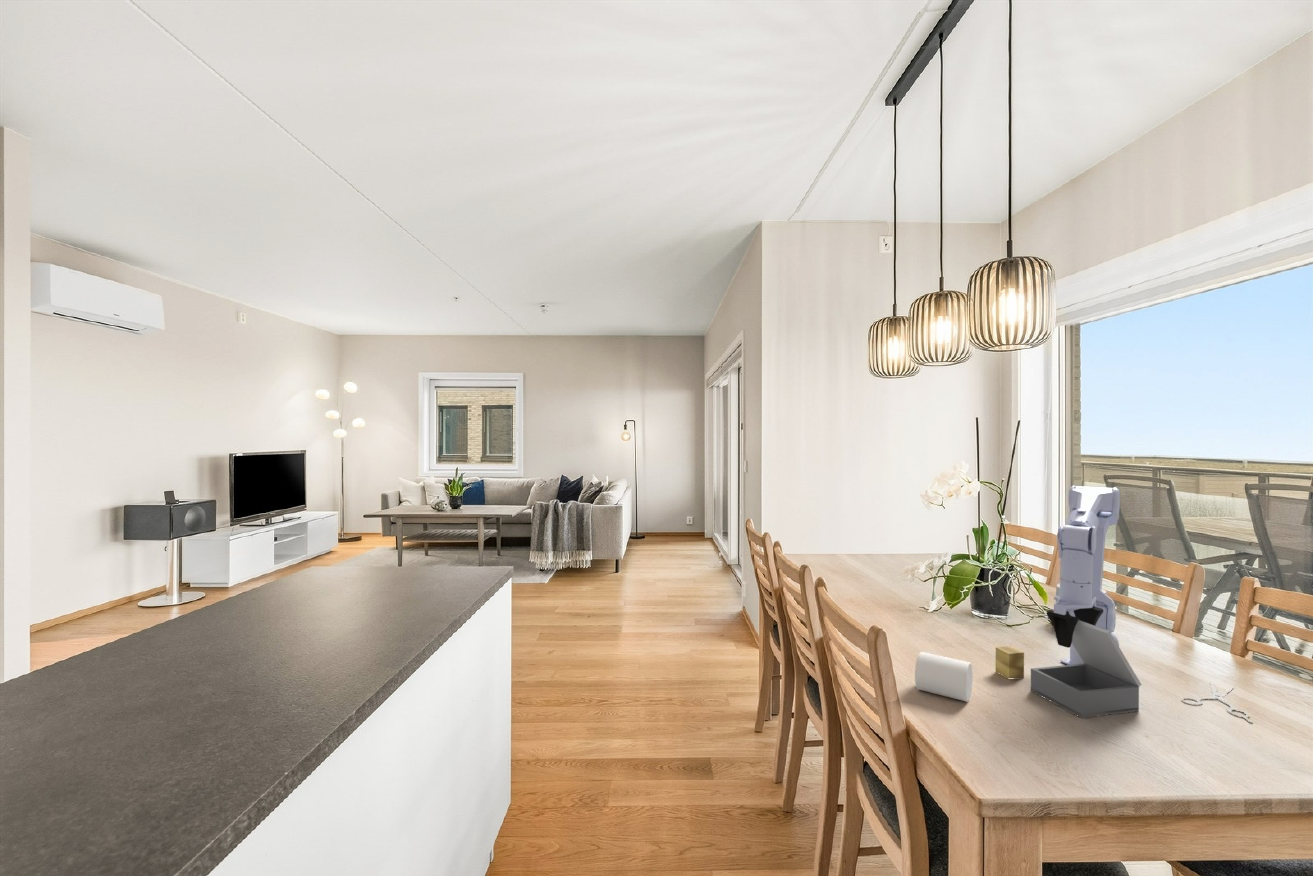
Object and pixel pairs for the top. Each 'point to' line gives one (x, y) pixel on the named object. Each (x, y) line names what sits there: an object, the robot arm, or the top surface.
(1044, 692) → the box
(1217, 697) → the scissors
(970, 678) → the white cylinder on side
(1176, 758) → the top surface
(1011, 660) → the block
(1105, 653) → the lid
